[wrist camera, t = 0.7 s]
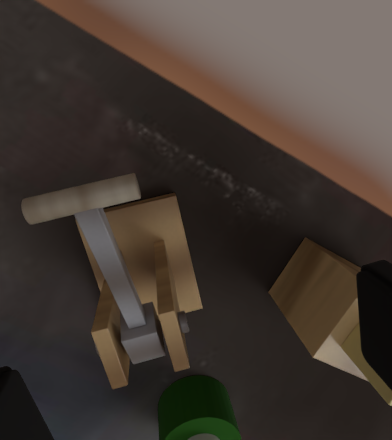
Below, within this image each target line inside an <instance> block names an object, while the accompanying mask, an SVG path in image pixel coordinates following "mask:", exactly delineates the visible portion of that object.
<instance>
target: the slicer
mask: <svg viewBox="0 0 392 440" xmlns="http://www.w3.org/2000/svg"><path fill="white" fill-rule="evenodd" d="M104 212H105V214H106V217H107V219H108V222H109V224H110V227H111V229H112V232H113V234H114V237H115V239H116V242H117V244H118V246H119V249H120V251H121V254H122V256H123V259H124V261H125V264H126V266H127V269H128V271H129V274H130V276H131V279H132V281H133V284H134V286H135V288H136V291H137V293H138V296H139V298H140V301H141V303H142V304H145V303H149V302H153V304H154V307H155V310H156V313H157V315H158V318H159V320H160V323H161V327H162V330H163V333H164V337H165V340H166V344H167V347H168V351H169V354H170V358H171V361H172V364H173V368H174V371H175V372H177V371H180V370H184V369H188V368H190V365H189V360H188V354H187V348H186V342H185V337H184V333H187V332H189V326H188V322H187V318H186V314H185V313H187V312H191V311H194V310H198V309H202V304H201V299H200V295H199V291H198V287H197V282H196V278H195V274H194V270H193V265H192V261H191V257H190V253H189V248H188V244H187V240H186V236H185V231H184V227H183V223H182V219H181V215H180V210H179V206H178V202H177V198H176V194H175V193H171V194H166V195H162V196H158V197H154V198H150V199H146V200H141V201H137V202H133V203H129V204H125V205H120V206H116V207H112V208H108V209H104ZM75 221H76V224H77V227H78V229H79V232H80V235H81V238H82V241H83V244H84V247H85V249H86V252H87V255H88V258H89V261H90V264H91V267H92V269H93V272H94V275H95V278H96V281H97V284H98V287H99V289H100V292H101V294H100V298H99V302H98V306H97V310H96V314H95V319H94V323H93V327H92V331H91V334H92V337H93V339H94V343H95V349H96V352H97V354H98V355H99V356H100V358H101V360H102V363H103V366H104V368H105V371H106V374H107V376H108V379H109V381H110V384H111V387H112V389H116V388H119V387H123V386H126V385H128V374H129V356H128V354H127V352H126V350H125V348H124V346H123V344H122V343H121V327H120V309H119V307H118V305H117V303H116V301H115V299H114V296H113V294H112V292H111V290H110V288H109V286H108V284H107V282H106V280H105V278H104V276H103V274H102V272H101V270H100V267H99V265H98V263H97V261H96V259H95V257H94V255H93V253H92V251H91V249H90V247H89V245H88V243H87V241H86V238H85V236H84V234H83V232H82V230H81V228H80V226H79V224H78V222H77V220H76V219H75Z"/></svg>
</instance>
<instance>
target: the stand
mask: <svg viewBox="0 0 392 440" xmlns="http://www.w3.org/2000/svg"><path fill="white" fill-rule="evenodd" d="M360 271H361V268H360V267H358V266H356V265H354V264H353V263H351V262H349V261H347V260H345V259H344V258H342V257H340V256H338V255H336V254H335V253H333V252H331V251H329V250H327V249H326V248H324V247H322V246H320V245H318V244H317V243H315V242H313V241H311V240H309V239H308V238H306V237H305V239H304V240H303V241H302V243H301V244H300V246H299V247H298V249H297V250H296V252H295V253H294V255H293V256H292V258H291V259H290V261H289V262H288V264H287V265H286V267H285V268H284V270H283V271H282V273H281V274H280V276H279V277H278V279H277V280H276V282H275V283H274V285H273V286H272V288H271V289H270V290H269V294H270V295H271V297H272V298H273V300H274V301H275V303H276V304H277V306H278V307H279V309H280V310H281V311H282V313H283V314H284V316H285V317H286V319H287V320H288V322H289V323H290V325H291V326H292V328H293V329H294V331H295V332H296V333H297V335H298V336H299V338H300V339H301V341H302V342H303V344H304V345H305V347H306V348H307V350H308V351H309V352H310V354H311V355H312V357H313V358H316V359H318V360H320V361H323V362H325V363H327V364H330V365H332V366H334V367H337V368H339V369H341V370H344V371H346V372H348V373H350V374H353V375H355V376H357V377H360V378H362V379H364V380H367V381H368V379H367V378H366V377H365V376H364V375H363V373H362V372H361V371H360V370H359V369H358V367H357V366H356V365H355V364H354V363H353V361H352V360H351V359H350V358H349V357H348V355H347V354H346V353H345V352H344V351H343V349H342V348H341V345H342V344H343V343H344V341H345V340H346V339H347V337H348V336H349V335H350V333H351V332H352V331H353V329H354V328H355V327H356V325H357V324H358V323H359V312H358V297H357V282H356V275H357V273H358V272H360Z"/></svg>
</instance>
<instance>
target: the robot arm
mask: <svg viewBox="0 0 392 440" xmlns="http://www.w3.org/2000/svg"><path fill="white" fill-rule="evenodd" d="M356 282H357V297H358V312H359V326H360V341H361V351H362V354H363V356H364V358H365V360H366V362H367V363H368V364H369V365H370V367H371V368H372V369H373V370H374V371H375V372H376V373H377V375H378V376H379V377H380V378H381V379H382V380H383V381H384V382H385V384H386V385H387V386H388V387H389V388H390V389H391V390H392V264H391V263H389V262H388V261H385V260H380V261H377V262H373V263H370V264H366V265H363V266H362V267H361V271H360V272H358V273H357V275H356ZM0 440H54V438H53V436H52V435H51V433H50V431H49V429H48V427H47V425H46V423H45V421H44V419H43V417H42V415H41V413H40V412H39V410H38V408H37V406H36V404H35V402H34V400H33V398H32V396H31V394H30V392H29V390H28V389H27V387H26V385H25V383H24V381H23V379H22V377H21V375H20V373H19V372H18V371H17V370H12V369H11V368H10V367H8V366H4V367H1V368H0Z"/></svg>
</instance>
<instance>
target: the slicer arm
mask: <svg viewBox="0 0 392 440" xmlns="http://www.w3.org/2000/svg"><path fill="white" fill-rule="evenodd" d="M140 198H141V193H140V189H139V185H138V181H137V178H136V175H135V173H131V174H127V175H123V176H118V177H114V178H110V179H105V180H101V181H97V182H92V183H88V184H84V185H80V186H75V187H71V188H67V189H62V190H58V191H54V192H50V193H45V194H41V195H37V196H32V197H28V198H24V199H23V200H22V203H21V207H22V212H23V215H24V217H25V219H26V221H27V222H28V223H29V224H36V223H41V222H45V221H49V220H53V219H57V218H62V217H66V216H70V215H74V216H75V218H76V220H77V222H78V224H79V226H80V228H81V230H82V232H83V234H84V236H85V238H86V241H87V243H88V245H89V247H90V249H91V251H92V253H93V255H94V257H95V259H96V261H97V263H98V265H99V267H100V270H101V272H102V274H103V276H104V278H105V280H106V282H107V284H108V286H109V288H110V290H111V292H112V294H113V296H114V299H115V301H116V303H117V305H118V307H119V309H120V327H121V343H122V344H123V346H124V348H125V350H126V352H127V354H128V356H129V358H130V359H131V361H132V363H133V364H136V363H140V362H143V361H147V360H151V359H154V358H158V357H162V356H165V348H164V341H163V334H162V327H161V323H160V321H159V318H158V315H157V313H156V310H155V307H154V304H153V302H149V303H145V304H142V303H141V301H140V298H139V296H138V293H137V291H136V288H135V286H134V284H133V281H132V279H131V276H130V274H129V271H128V269H127V266H126V264H125V261H124V259H123V256H122V254H121V251H120V249H119V246H118V244H117V242H116V239H115V237H114V234H113V232H112V229H111V227H110V224H109V222H108V219H107V217H106V214H105V212H104V209H103V207H108V206H112V205H116V204H120V203H124V202H129V201H133V200H137V199H140Z"/></svg>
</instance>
